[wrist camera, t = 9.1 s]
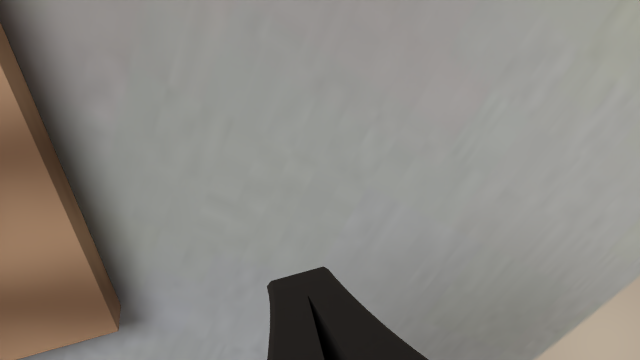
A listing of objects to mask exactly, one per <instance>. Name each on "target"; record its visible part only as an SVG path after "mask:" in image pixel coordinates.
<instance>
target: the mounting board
mask: <svg viewBox="0 0 640 360" xmlns="http://www.w3.org/2000/svg"><path fill="white" fill-rule="evenodd" d="M120 309H121V305H120V303H119V300H118V298H117V296H116V293H115V291H114V289H113V286H112V284H111V282H110V279H109V277H108V274H107V272H106V270H105V267H104V265H103V263H102V260H101V258H100V256H99V253H98V251H97V249H96V246H95V244H94V242H93V239H92V237H91V234H90V232H89V230H88V227H87V225H86V223H85V220H84V218H83V216H82V213H81V211H80V209H79V206H78V204H77V202H76V199H75V197H74V195H73V192H72V190H71V187H70V185H69V183H68V180H67V178H66V176H65V173H64V171H63V169H62V166H61V164H60V162H59V159H58V157H57V155H56V152H55V150H54V147H53V145H52V143H51V140H50V138H49V136H48V133H47V131H46V129H45V126H44V124H43V122H42V119H41V117H40V115H39V112H38V110H37V107H36V105H35V103H34V100H33V98H32V96H31V93H30V91H29V89H28V86H27V84H26V82H25V79H24V77H23V75H22V72H21V70H20V67H19V65H18V63H17V60H16V58H15V56H14V53H13V51H12V49H11V46H10V44H9V42H8V39H7V37H6V35H5V32H4V30H3V27H2V25H1V23H0V360H16V359H20V358H24V357H27V356H31V355H34V354H38V353H41V352H45V351H49V350H52V349H56V348H59V347H63V346H66V345H70V344H74V343H77V342H81V341H84V340H88V339H91V338H95V337H99V336H102V335H106V334H109V333H113V332H116V331H118V329H119V319H120Z"/></svg>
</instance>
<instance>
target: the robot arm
mask: <svg viewBox="0 0 640 360" xmlns="http://www.w3.org/2000/svg"><path fill="white" fill-rule="evenodd" d="M267 289H268V293H269V300H270V336H269V348H268V359H267V360H428V359H427V358H425V357H424V356H423V355H421V354H420V353H419V352H417V351H416V350H415V349H413V348H412V347H411V346H409V345H408V344H407V343H406V342H404V341H403V340H402V339H400V338H399V337H398V336H397V335H396V334H394V333H393V332H392V331H391V330H389V329H388V328H387V327H386V326H385V325H384V324H383V323H381V322H380V321H379V320H378V319H377V318H376V317H375V316H374V315H372V314H371V313H370V312H369V311H368V310H367V309H366V308H365V307H364V306H363V305H361V304H360V303H359V302H358V301H357V300H356V299H355V298H354V297H353V296H352V295H351V294H350V293H349V292H348V291H347V290H346V289H345V288H344V287H343V285H342V284H341V283H340V282H339V281H338V280H337V279H336V278H335V277H334V275H333V274H332V273H331V272H330V271H329V269H327V268H325V267H320V268H317V269H313V270H309V271H306V272H302V273H299V274H295V275H291V276H288V277H284V278H281V279H277V280H273V281H271V282H270V283H269V285H268V286H267Z"/></svg>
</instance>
